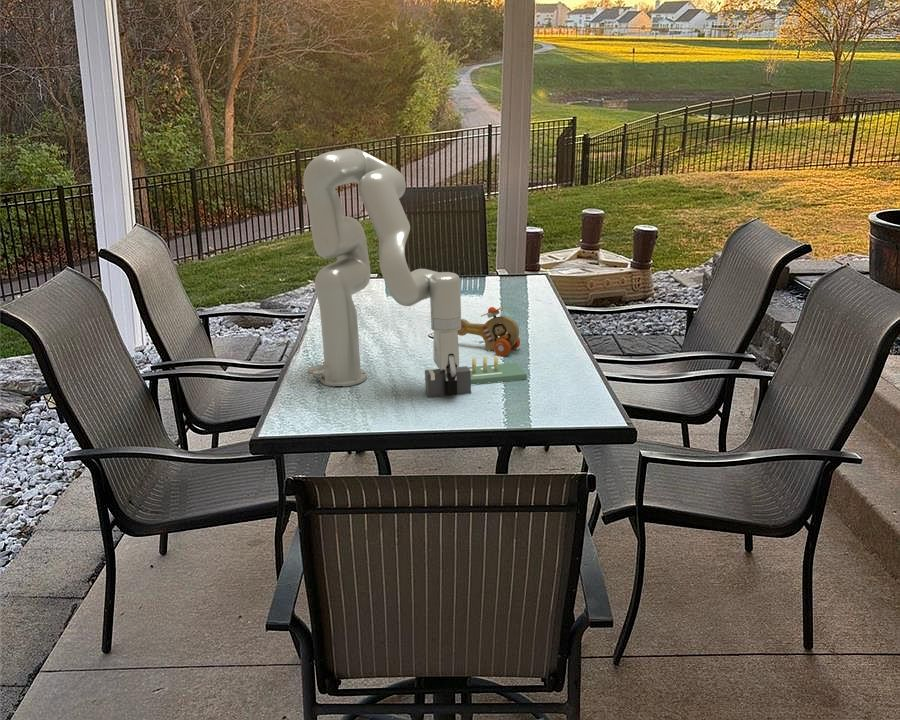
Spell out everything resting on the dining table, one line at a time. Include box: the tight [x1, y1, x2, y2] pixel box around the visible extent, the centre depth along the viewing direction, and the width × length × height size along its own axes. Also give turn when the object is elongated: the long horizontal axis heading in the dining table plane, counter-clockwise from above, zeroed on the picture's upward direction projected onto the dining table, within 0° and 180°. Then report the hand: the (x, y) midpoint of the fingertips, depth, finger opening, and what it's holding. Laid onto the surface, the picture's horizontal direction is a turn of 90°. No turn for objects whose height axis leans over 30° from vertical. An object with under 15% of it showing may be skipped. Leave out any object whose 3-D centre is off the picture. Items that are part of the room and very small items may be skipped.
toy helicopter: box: [458, 306, 521, 357], centre depth 255 cm, size 8×21×14 cm, turn 60°
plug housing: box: [424, 366, 472, 398], centre depth 222 cm, size 11×4×6 cm, turn 102°
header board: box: [467, 355, 528, 385], centre depth 233 cm, size 20×10×6 cm, turn 102°
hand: (448, 390), depth 223 cm, fingers open, 5 cm apart
